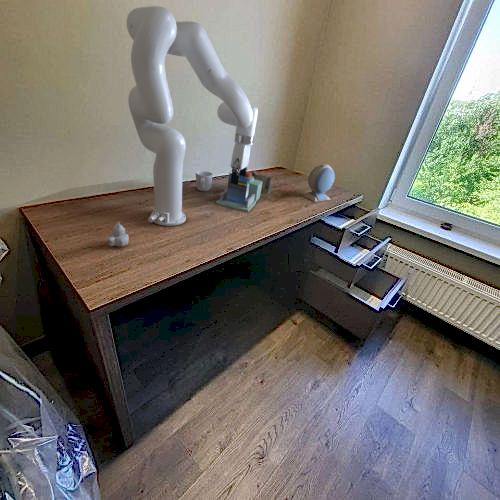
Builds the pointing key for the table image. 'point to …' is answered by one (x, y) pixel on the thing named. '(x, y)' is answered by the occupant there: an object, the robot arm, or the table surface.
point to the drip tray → (235, 205)
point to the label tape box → (238, 190)
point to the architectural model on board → (266, 182)
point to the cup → (203, 180)
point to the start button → (248, 174)
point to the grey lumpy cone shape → (118, 236)
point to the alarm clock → (320, 182)
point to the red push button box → (254, 187)
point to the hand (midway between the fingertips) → (238, 181)
